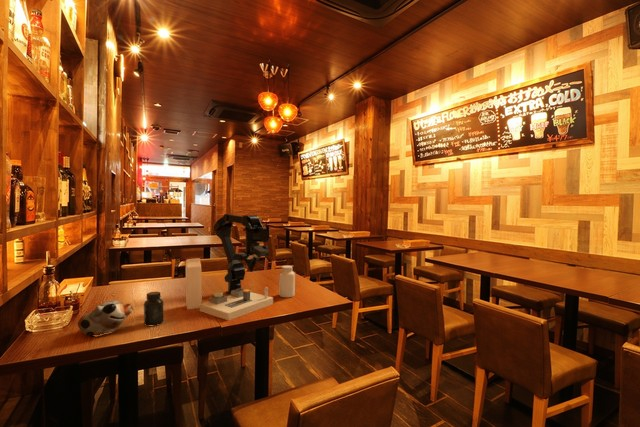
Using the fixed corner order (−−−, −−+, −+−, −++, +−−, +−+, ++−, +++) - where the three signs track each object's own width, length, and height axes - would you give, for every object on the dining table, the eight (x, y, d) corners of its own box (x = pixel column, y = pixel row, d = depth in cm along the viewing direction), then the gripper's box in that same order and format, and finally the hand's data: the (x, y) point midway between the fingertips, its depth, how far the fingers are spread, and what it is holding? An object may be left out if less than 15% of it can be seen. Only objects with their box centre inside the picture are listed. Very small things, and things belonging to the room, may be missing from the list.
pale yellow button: (212, 297, 145) (212, 293, 145) (219, 295, 148) (219, 291, 148) (217, 298, 143) (217, 294, 143) (224, 296, 146) (224, 292, 146)
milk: (201, 307, 147) (201, 259, 146) (187, 309, 144) (187, 260, 143) (199, 303, 152) (199, 257, 151) (185, 305, 149) (185, 258, 148)
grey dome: (233, 295, 155) (233, 291, 155) (239, 293, 158) (239, 289, 158) (238, 296, 153) (238, 292, 153) (244, 294, 156) (244, 290, 156)
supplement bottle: (141, 323, 128) (141, 293, 128) (160, 318, 133) (159, 289, 133) (147, 328, 123) (146, 296, 123) (166, 323, 128) (165, 293, 128)
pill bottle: (292, 298, 161) (292, 268, 161) (276, 297, 163) (276, 267, 162) (296, 293, 169) (296, 265, 169) (281, 292, 171) (282, 264, 170)
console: (200, 311, 142) (199, 292, 142) (245, 296, 164) (245, 280, 163) (228, 320, 131) (228, 300, 131) (273, 303, 153) (273, 286, 152)
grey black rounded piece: (114, 320, 130) (130, 290, 130) (125, 340, 123) (142, 308, 123) (71, 321, 118) (89, 288, 117) (80, 343, 111) (99, 308, 110)
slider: (242, 300, 148) (242, 290, 147) (246, 298, 149) (246, 289, 149) (246, 301, 146) (246, 291, 146) (250, 299, 148) (250, 290, 148)
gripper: (248, 243, 149) (248, 277, 150) (276, 239, 164) (276, 270, 165) (232, 242, 155) (232, 274, 156) (260, 238, 171) (260, 267, 171)
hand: (251, 271), depth 162 cm, fingers closed
